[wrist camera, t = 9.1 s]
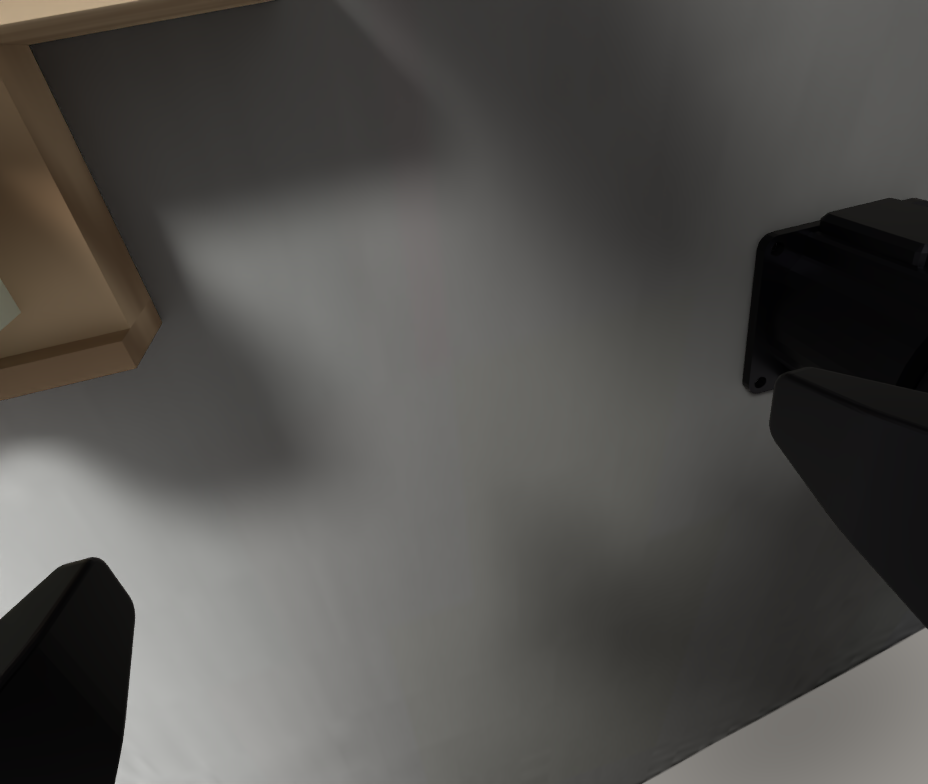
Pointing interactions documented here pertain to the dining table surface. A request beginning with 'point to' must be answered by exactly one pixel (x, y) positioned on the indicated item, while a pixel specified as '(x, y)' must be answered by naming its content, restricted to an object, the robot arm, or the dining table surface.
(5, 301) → the block
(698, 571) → the dining table surface
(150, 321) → the light brown t-shaped piece
